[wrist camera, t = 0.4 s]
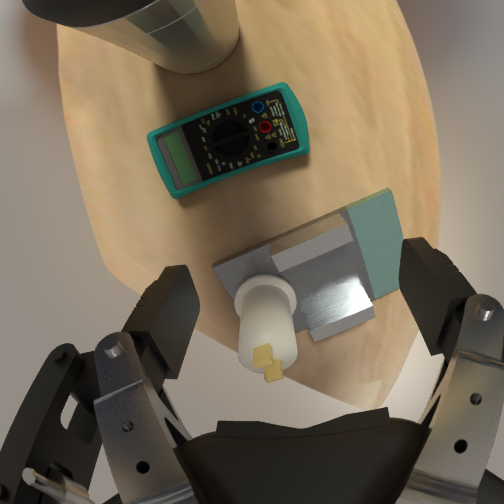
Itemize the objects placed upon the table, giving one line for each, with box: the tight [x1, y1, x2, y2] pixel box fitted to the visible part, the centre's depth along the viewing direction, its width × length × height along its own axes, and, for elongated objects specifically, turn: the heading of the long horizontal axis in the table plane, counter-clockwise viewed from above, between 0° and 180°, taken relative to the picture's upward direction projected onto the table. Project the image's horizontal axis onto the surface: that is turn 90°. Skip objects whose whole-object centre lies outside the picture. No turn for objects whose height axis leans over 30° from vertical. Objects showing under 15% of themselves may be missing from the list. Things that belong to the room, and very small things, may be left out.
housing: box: [212, 188, 404, 342], centre depth 31 cm, size 13×22×4 cm, turn 116°
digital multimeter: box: [147, 82, 309, 199], centre depth 25 cm, size 7×15×3 cm, turn 109°
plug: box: [234, 274, 298, 383], centre depth 28 cm, size 7×7×11 cm
